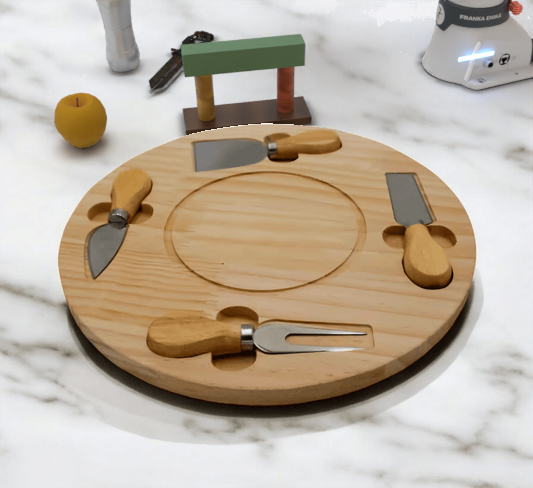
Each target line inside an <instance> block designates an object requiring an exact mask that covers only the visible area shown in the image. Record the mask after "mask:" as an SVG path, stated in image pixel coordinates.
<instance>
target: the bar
mask: <svg viewBox="0 0 533 488" xmlns="http://www.w3.org/2000/svg"><path fill="white" fill-rule="evenodd" d="M195 43H196V44H185V45H181V44H180V45H181V53H182V58H181V59H182V62H183V70H182V71H183V77H184V78H193V77H194V76H204V75H212V76H214V75H224V74H234V73H246V72H254V71H255V72H256V71H265V70H266V71H267V70H277V68H287V67H295V68H297V67H305V66H306V42H305V39H304V38H303V35H302V33H296V34H284V35H283V34H282V35H275V36H262V37H251V38H241V39H229V40H219V41H218V40H217V41H211V42H207V43H199V42H195Z"/></svg>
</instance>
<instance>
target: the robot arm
mask: <svg viewBox="0 0 533 488" xmlns="http://www.w3.org/2000/svg"><path fill="white" fill-rule="evenodd" d="M523 8H524V6H523V5H522V4H521V3H520V2H519V1H518V0H438V2H437V7H436V12H435V26H434V29H433V32H432V36H431V39H430V42H429V44H428V46H427V49H426V51H425V53H424V55H423V57H422V59H421V65H422V67H423V69H424V70H425V71H426V72H427V73H428V74H430V75H431V76H432V77H435V78H437V79H439V80H441V81H444V82H449V83H453V84H457V85H461V86H463V87H465V88H468V89H470V90H474V91H479V90H483V89H488V88H492V87H497V86H501V85H505V84H510V83H514V82H518V81H523V80H526V79H527V80H528V79H532V78H533V38H531V35H530V34H529V33H528V32H527V30H526V29H525V28H524V27H523V26H522V25H521V24H520V23H519V22H518V21H517V20H516V19H515V18H513V16H519V15H521V13H523V11H524V9H523ZM510 12H511V14H512V15H513V16H511V15H510Z"/></svg>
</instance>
